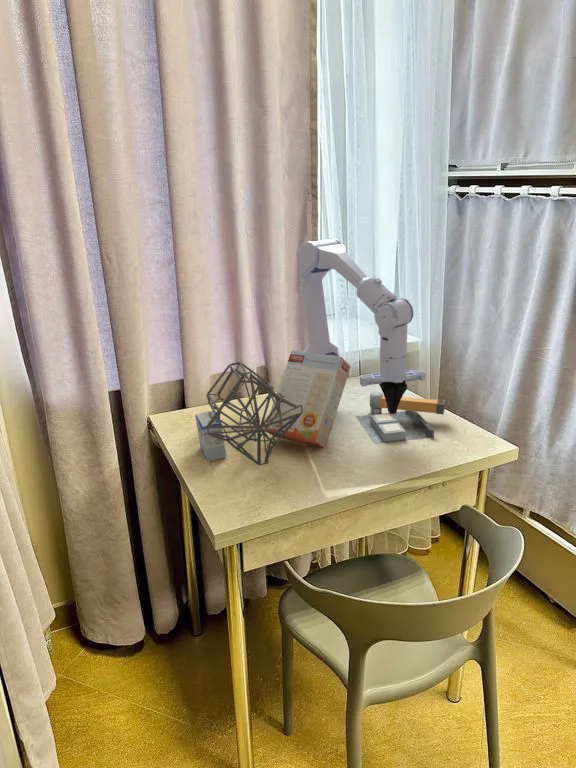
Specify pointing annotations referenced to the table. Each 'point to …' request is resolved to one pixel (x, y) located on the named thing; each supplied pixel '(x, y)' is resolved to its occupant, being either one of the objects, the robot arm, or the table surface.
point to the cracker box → (311, 396)
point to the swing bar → (409, 403)
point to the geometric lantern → (256, 422)
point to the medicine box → (210, 437)
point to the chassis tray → (407, 419)
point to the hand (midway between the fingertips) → (392, 412)
